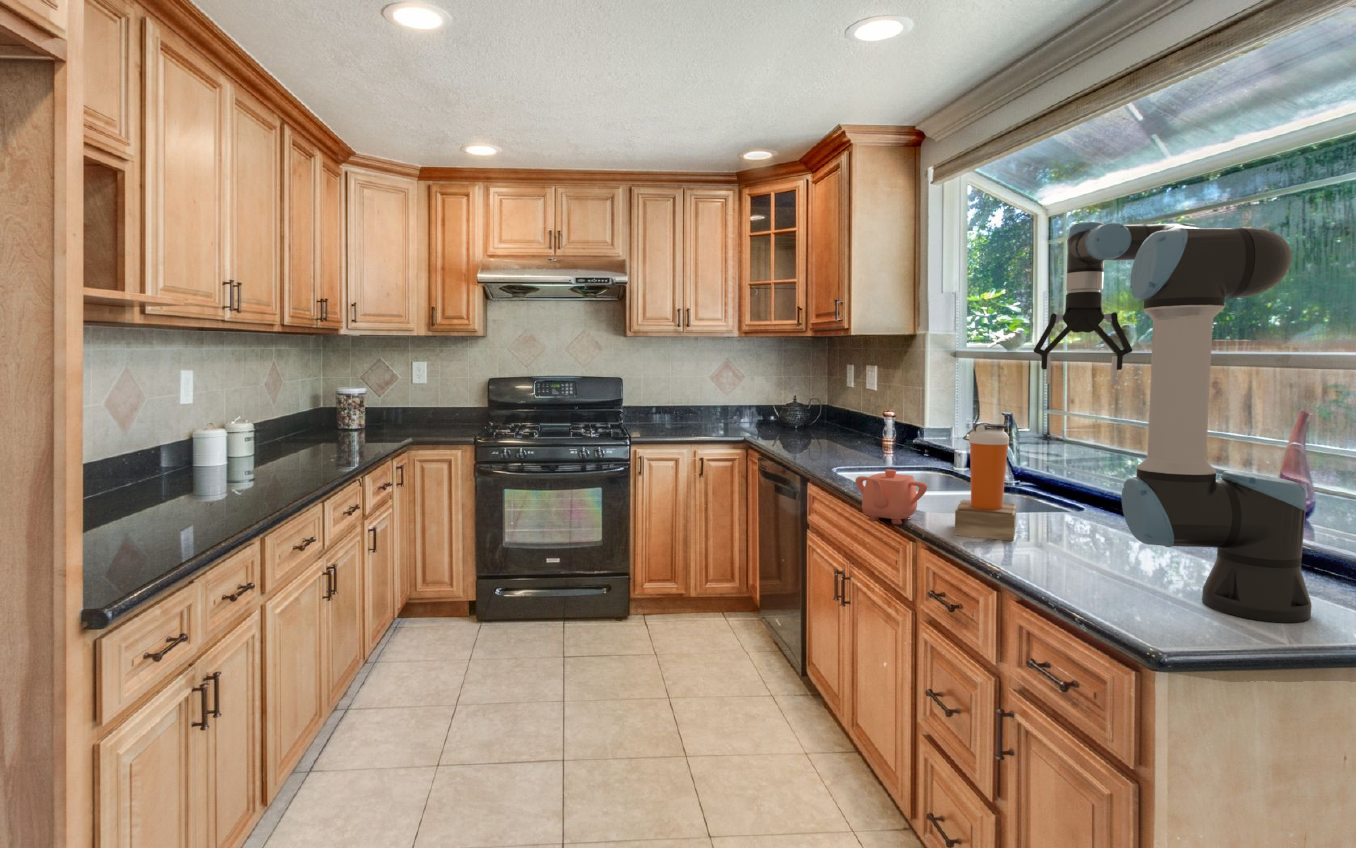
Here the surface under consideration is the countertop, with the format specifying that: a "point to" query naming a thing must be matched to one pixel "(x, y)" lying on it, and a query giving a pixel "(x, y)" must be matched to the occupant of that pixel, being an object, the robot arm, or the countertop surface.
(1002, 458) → the shaker bottle
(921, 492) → the teapot
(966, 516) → the block
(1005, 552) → the countertop surface
